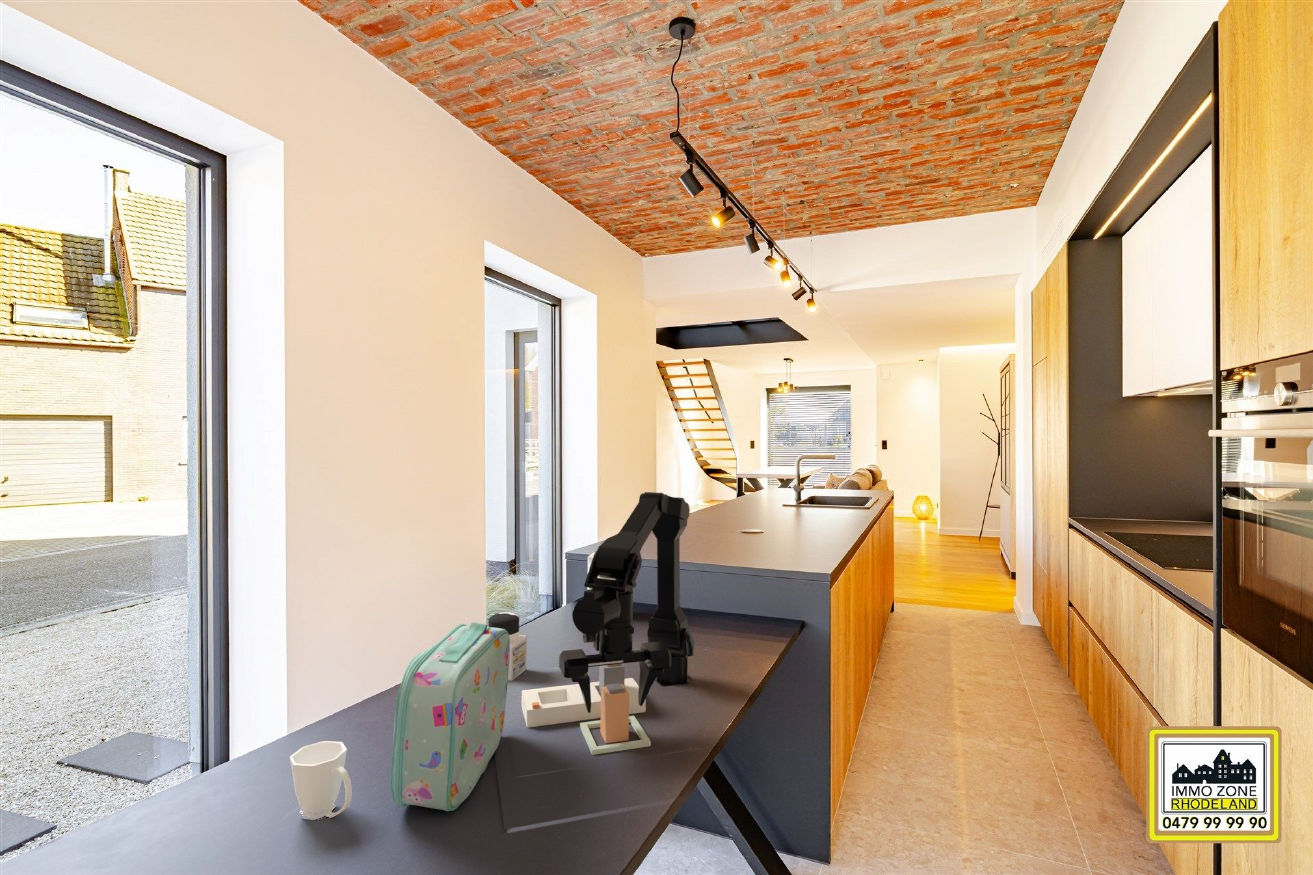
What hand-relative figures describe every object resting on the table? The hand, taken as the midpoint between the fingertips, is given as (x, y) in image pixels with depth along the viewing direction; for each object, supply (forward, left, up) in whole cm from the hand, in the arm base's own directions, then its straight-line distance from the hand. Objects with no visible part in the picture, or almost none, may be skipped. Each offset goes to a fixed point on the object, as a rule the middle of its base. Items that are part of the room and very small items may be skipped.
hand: (614, 708), depth 106 cm
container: (+16, -35, -5) cm, 39 cm away
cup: (+43, +9, -5) cm, 44 cm away
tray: (0, 0, -5) cm, 5 cm away
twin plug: (-2, -12, -5) cm, 13 cm away
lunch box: (+26, +3, -6) cm, 27 cm away
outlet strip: (+3, -12, -5) cm, 13 cm away
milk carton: (-15, -72, -5) cm, 74 cm away
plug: (0, 0, -5) cm, 5 cm away
